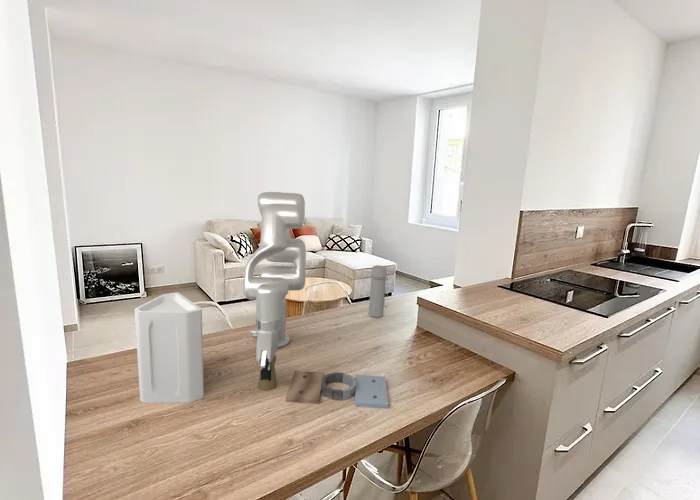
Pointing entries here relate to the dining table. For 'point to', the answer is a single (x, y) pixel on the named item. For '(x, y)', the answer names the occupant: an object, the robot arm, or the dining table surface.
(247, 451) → the dining table surface
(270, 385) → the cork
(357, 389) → the leaf
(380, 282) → the water bottle
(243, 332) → the dining table surface
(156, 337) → the white triangular canister
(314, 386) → the leaf
